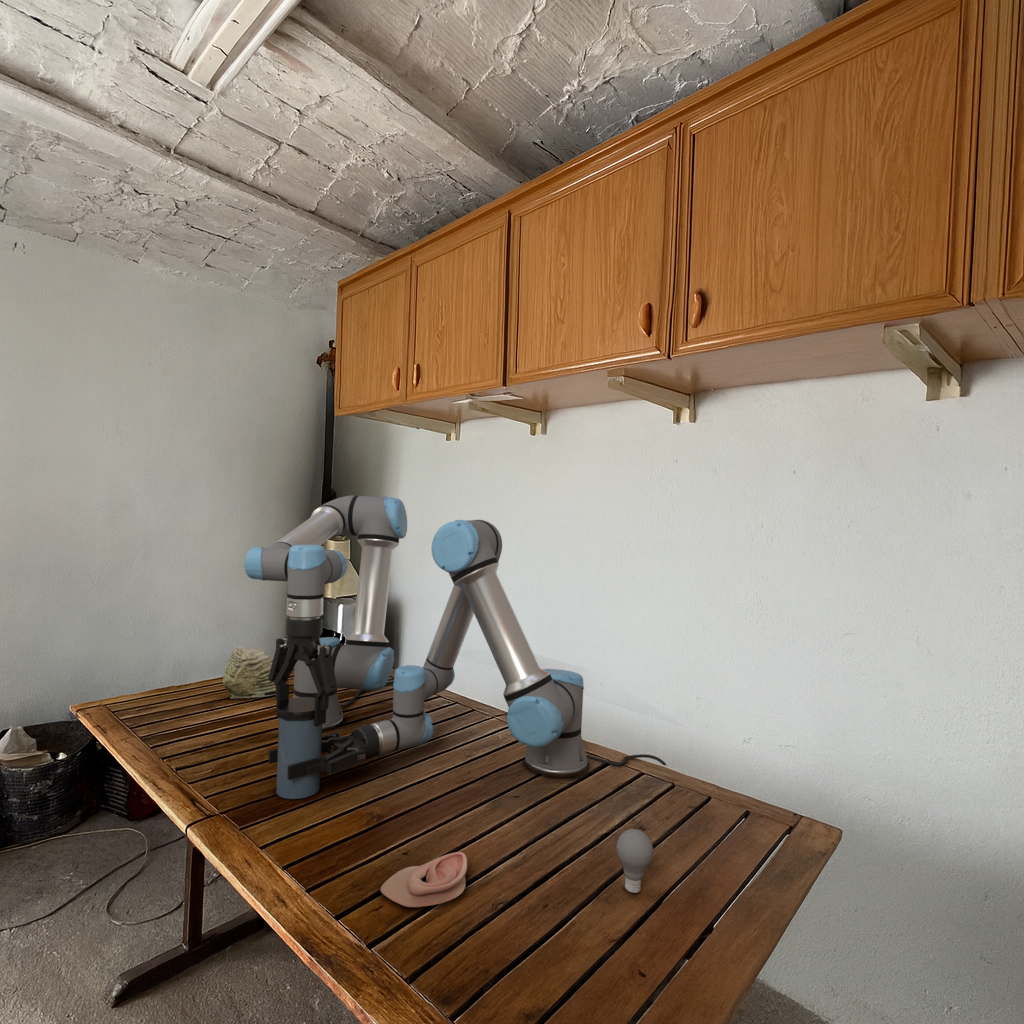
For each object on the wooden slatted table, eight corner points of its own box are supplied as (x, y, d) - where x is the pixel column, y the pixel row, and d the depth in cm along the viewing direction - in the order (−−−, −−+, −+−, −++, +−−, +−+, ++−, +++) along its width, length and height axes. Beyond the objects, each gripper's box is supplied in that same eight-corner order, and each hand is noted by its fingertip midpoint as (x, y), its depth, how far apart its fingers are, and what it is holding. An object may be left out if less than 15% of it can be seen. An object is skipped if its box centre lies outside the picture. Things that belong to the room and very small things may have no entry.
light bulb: (610, 879, 108) (613, 822, 108) (644, 879, 109) (647, 822, 109) (619, 902, 102) (622, 840, 102) (655, 901, 103) (658, 840, 103)
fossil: (218, 695, 195) (220, 647, 195) (278, 685, 208) (279, 640, 207) (228, 703, 189) (230, 653, 188) (289, 692, 201) (290, 645, 201)
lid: (335, 711, 137) (335, 704, 137) (294, 723, 129) (294, 715, 129) (306, 701, 144) (307, 694, 143) (266, 712, 135) (266, 704, 135)
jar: (290, 803, 130) (293, 718, 130) (267, 789, 136) (270, 707, 136) (328, 789, 137) (331, 708, 137) (305, 776, 143) (308, 698, 143)
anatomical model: (373, 876, 100) (400, 838, 111) (372, 901, 100) (399, 861, 111) (454, 890, 97) (473, 850, 108) (452, 915, 97) (472, 873, 108)
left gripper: (252, 613, 138) (249, 714, 138) (333, 626, 128) (328, 735, 128) (279, 608, 144) (275, 705, 145) (357, 620, 134) (353, 724, 135)
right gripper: (397, 772, 141) (300, 801, 126) (349, 742, 157) (257, 765, 142) (398, 738, 141) (301, 764, 125) (350, 711, 157) (259, 731, 141)
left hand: (300, 719), depth 136 cm, fingers closed on lid, 10 cm apart
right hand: (278, 764), depth 134 cm, fingers closed on jar, 9 cm apart
